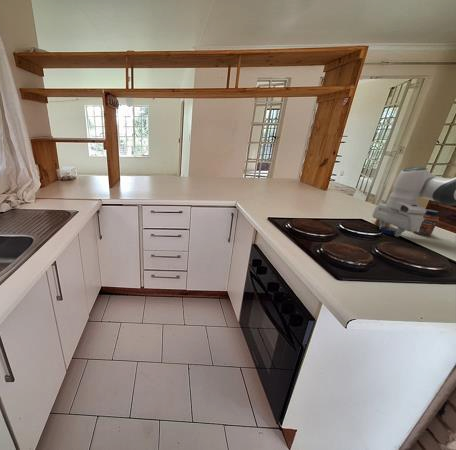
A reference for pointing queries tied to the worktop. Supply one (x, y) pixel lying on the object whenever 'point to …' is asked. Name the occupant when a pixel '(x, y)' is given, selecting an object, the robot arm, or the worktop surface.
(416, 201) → the robot arm
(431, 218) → the supplement bottle
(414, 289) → the worktop surface
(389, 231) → the jar lid
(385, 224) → the jam jar
